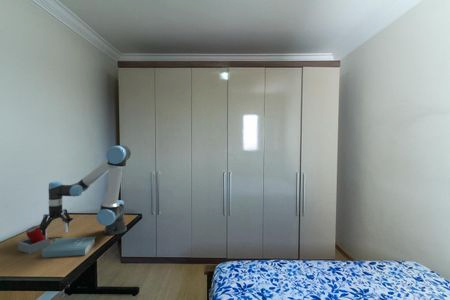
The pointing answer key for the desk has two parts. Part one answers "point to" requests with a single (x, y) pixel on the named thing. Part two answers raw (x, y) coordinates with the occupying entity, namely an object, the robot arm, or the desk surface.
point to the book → (68, 247)
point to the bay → (33, 245)
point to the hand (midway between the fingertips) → (55, 235)
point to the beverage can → (35, 234)
